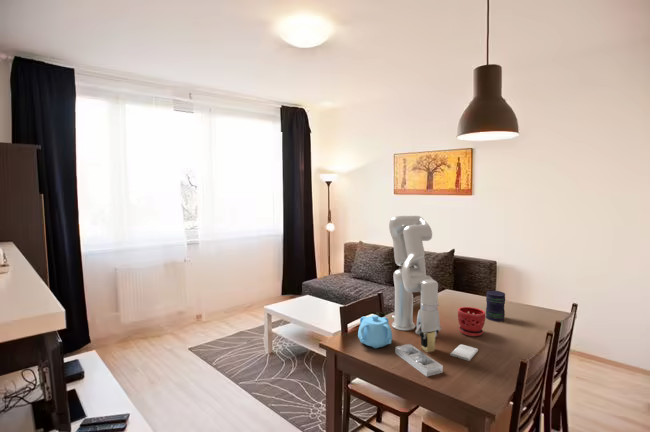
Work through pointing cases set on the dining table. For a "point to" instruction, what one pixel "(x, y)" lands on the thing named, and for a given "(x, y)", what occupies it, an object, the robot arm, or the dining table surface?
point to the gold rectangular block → (430, 342)
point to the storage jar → (495, 306)
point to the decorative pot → (375, 331)
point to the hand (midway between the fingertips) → (428, 344)
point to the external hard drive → (464, 352)
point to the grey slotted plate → (419, 360)
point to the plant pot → (471, 321)
